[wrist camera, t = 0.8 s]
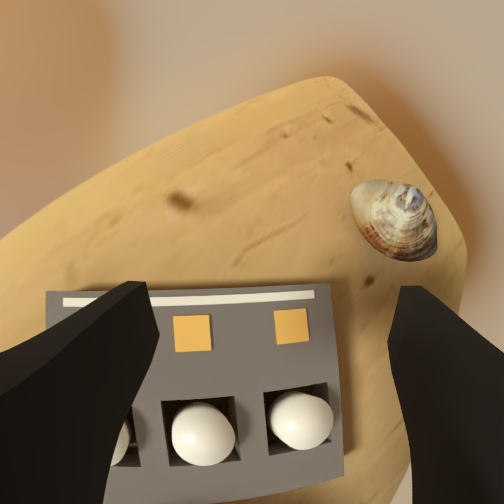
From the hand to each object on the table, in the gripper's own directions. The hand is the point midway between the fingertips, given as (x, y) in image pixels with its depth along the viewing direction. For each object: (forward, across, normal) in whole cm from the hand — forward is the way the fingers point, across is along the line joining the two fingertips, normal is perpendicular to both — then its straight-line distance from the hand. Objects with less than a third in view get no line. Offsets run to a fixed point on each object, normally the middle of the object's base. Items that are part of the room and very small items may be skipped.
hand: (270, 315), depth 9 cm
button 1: (+7, -1, +16) cm, 17 cm away
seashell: (+22, -8, +7) cm, 25 cm away
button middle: (+5, +6, +15) cm, 16 cm away
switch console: (+7, +6, +14) cm, 17 cm away
